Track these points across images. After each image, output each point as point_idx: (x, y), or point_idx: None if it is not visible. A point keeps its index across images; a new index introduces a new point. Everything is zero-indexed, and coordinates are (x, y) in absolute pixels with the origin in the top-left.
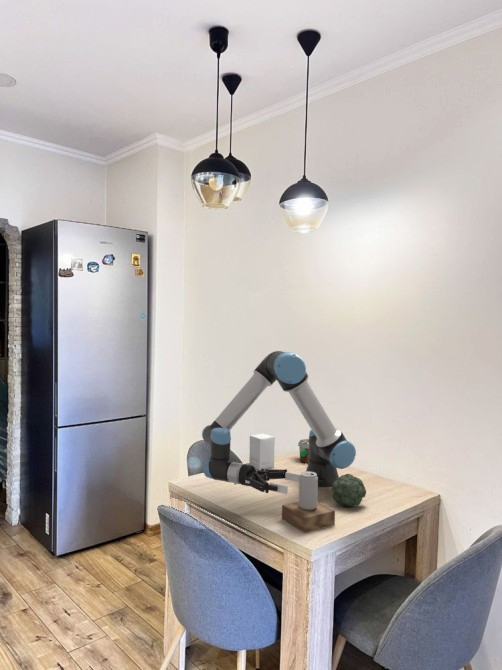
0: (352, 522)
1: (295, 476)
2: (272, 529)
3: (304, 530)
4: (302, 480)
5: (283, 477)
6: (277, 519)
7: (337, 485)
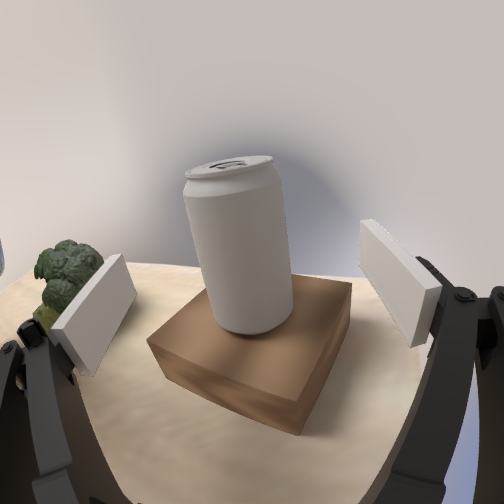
0: (201, 285)
1: (109, 290)
2: (413, 399)
3: (349, 319)
4: (281, 184)
5: (74, 381)
6: (314, 447)
7: (70, 283)
